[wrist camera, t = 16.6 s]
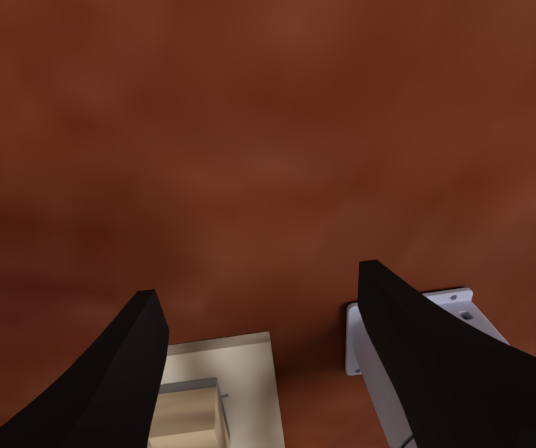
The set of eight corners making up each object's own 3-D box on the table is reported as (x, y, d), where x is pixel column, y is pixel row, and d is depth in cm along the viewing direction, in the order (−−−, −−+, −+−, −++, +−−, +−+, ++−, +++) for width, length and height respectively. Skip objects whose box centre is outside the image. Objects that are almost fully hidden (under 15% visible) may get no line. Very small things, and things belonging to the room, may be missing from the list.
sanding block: (159, 385, 26) (148, 438, 23) (216, 377, 27) (214, 429, 23) (180, 440, 30) (173, 492, 27) (230, 433, 31) (229, 485, 27)
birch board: (269, 331, 26) (270, 342, 25) (288, 472, 37) (289, 483, 36) (86, 356, 26) (81, 368, 25) (160, 491, 37) (158, 503, 36)
